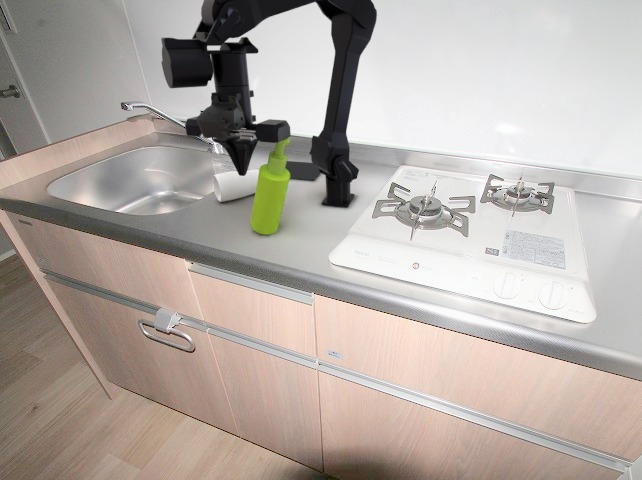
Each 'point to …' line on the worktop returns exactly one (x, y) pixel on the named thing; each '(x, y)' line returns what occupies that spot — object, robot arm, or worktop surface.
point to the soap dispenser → (271, 191)
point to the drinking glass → (235, 184)
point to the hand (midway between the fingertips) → (242, 175)
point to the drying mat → (302, 170)
